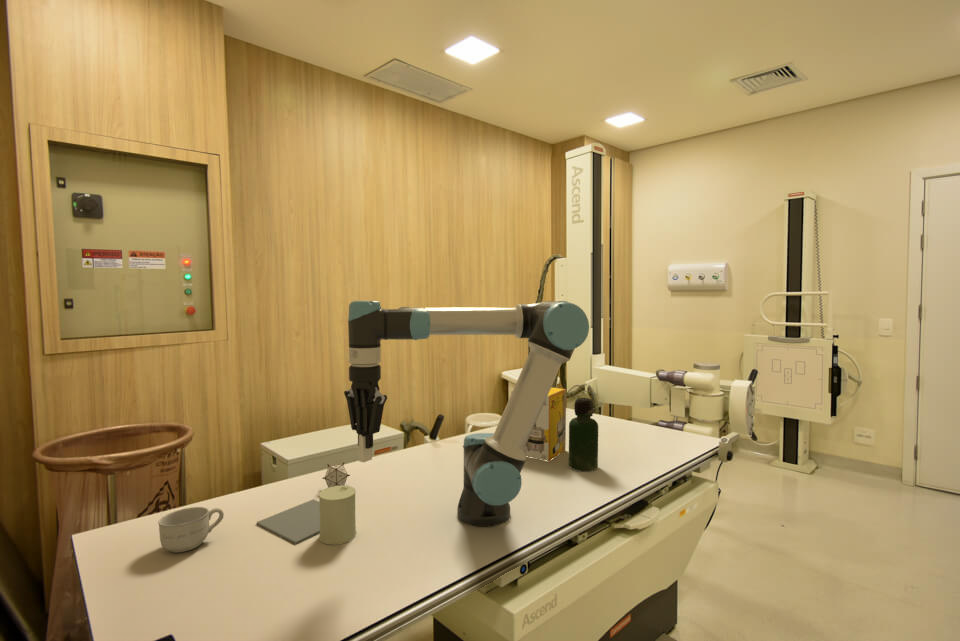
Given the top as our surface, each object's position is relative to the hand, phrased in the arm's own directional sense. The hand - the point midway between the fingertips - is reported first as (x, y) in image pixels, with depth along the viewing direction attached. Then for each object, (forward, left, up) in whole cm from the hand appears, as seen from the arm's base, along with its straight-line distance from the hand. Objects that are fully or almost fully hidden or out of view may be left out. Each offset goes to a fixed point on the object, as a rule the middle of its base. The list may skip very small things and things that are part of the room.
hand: (365, 460), depth 117 cm
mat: (+25, 0, -22) cm, 33 cm away
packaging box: (0, -89, -23) cm, 92 cm away
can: (+11, 0, -23) cm, 25 cm away
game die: (+36, -19, -23) cm, 46 cm away
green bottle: (-21, -84, -22) cm, 90 cm away
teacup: (+37, +24, -23) cm, 49 cm away
